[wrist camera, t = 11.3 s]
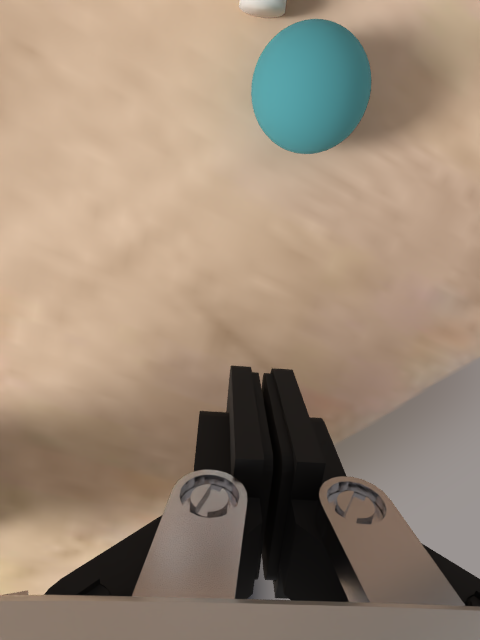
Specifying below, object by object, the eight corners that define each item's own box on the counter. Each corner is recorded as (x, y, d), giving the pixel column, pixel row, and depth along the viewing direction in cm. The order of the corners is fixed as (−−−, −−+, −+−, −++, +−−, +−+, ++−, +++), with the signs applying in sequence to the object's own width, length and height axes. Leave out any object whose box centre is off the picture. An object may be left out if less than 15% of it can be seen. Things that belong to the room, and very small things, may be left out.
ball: (354, 36, 23) (296, 136, 27) (271, -23, 20) (216, 101, 23) (419, 78, 20) (343, 188, 23) (331, 16, 16) (257, 155, 20)
